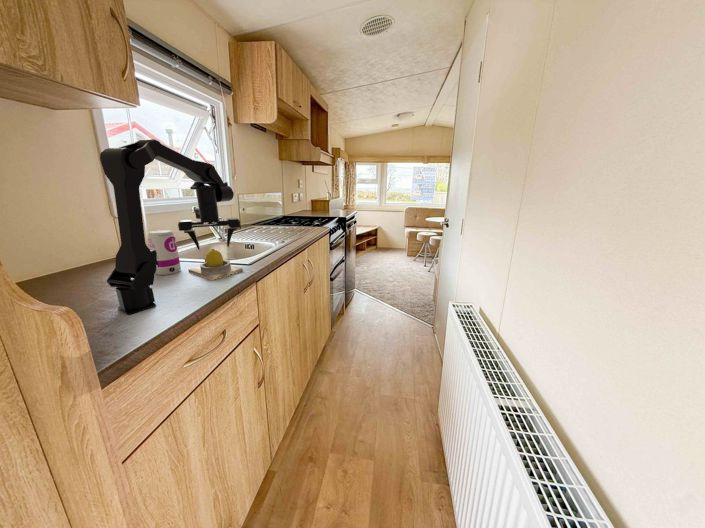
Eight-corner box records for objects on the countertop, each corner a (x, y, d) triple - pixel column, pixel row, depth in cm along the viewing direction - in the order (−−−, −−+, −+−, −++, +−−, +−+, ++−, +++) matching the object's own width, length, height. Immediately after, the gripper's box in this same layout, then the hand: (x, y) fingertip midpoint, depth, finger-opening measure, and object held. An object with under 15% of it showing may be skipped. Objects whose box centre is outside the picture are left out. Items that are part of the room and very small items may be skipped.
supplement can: (186, 269, 105) (179, 230, 100) (168, 276, 97) (160, 234, 93) (167, 268, 106) (160, 229, 102) (148, 274, 98) (140, 233, 94)
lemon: (219, 273, 97) (216, 250, 95) (204, 272, 97) (200, 250, 95) (227, 268, 103) (224, 247, 100) (212, 268, 103) (209, 247, 100)
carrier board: (212, 280, 94) (210, 268, 92) (188, 272, 101) (186, 261, 100) (243, 271, 103) (241, 260, 102) (219, 264, 111) (217, 254, 110)
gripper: (235, 200, 104) (239, 241, 109) (177, 202, 96) (184, 245, 101) (238, 203, 95) (242, 247, 99) (174, 204, 87) (182, 253, 91)
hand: (213, 248), depth 98 cm, fingers open, 9 cm apart
